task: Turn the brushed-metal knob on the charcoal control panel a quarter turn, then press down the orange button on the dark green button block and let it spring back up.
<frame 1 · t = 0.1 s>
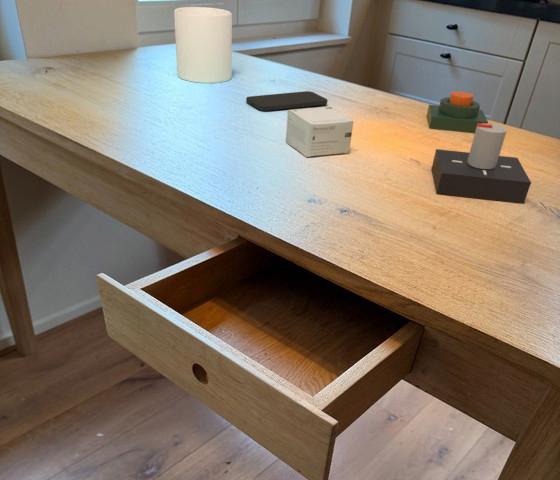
small box: (316, 149, 91), on the table
knob: (486, 145, 78), point 6 cm above the table, hinge at 0.0°
cup: (204, 77, 122), on the table
control panel: (475, 185, 82), on the table
button: (461, 99, 102), point 4 cm above the table, slide at 0.1 cm
phone: (286, 104, 109), on the table
button block: (454, 125, 105), on the table
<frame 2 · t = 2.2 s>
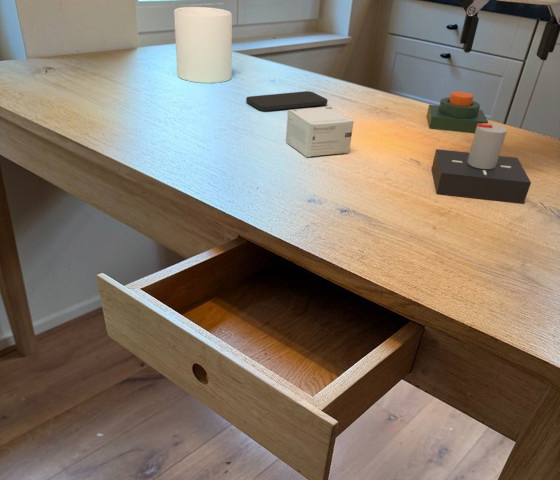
hand: (503, 54, 74), 16 cm above the table, tool pointing down, fingers open, 9 cm apart
nothing on the table moved.
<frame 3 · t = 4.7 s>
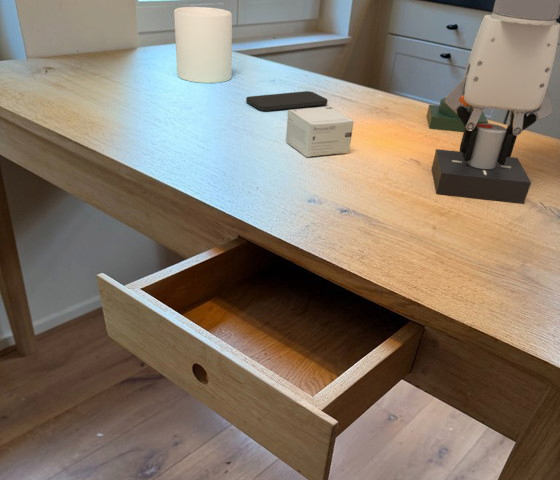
hand: (483, 158, 79), 4 cm above the table, tool pointing down, fingers closed on knob, 4 cm apart
knob: (486, 145, 78), point 6 cm above the table, hinge at -0.1°, touching gripper
everything else where it was.
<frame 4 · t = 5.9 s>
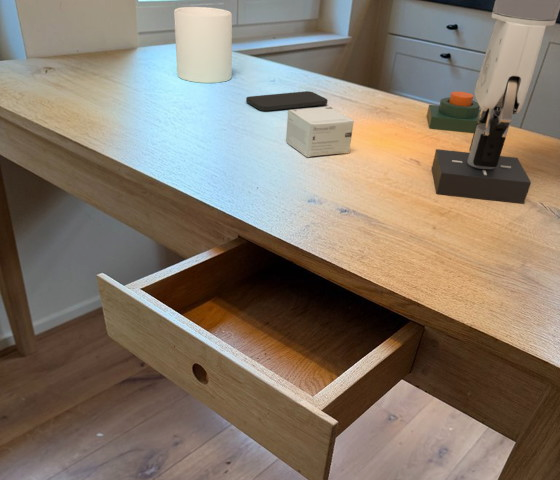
hand: (482, 158, 79), 4 cm above the table, tool pointing down, fingers closed on knob, 4 cm apart
knob: (486, 145, 78), point 6 cm above the table, hinge at 90.4°, touching gripper
everything else where it was.
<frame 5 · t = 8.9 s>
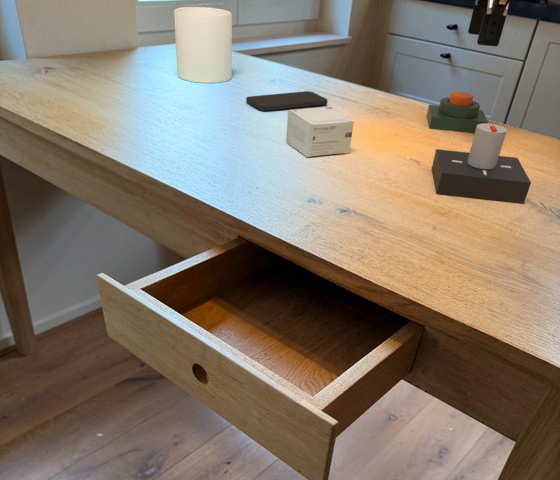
hand: (482, 39, 90), 15 cm above the table, tool pointing down, fingers open, 9 cm apart
knob: (486, 145, 78), point 6 cm above the table, hinge at 91.2°
everything else where it was.
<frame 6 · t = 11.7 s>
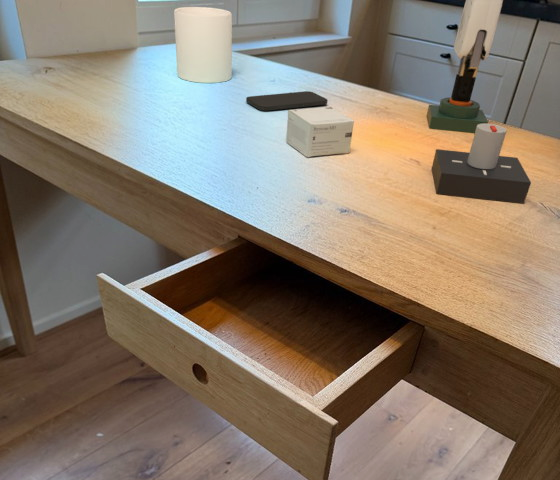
hand: (460, 99, 102), 4 cm above the table, tool pointing down, fingers closed
button: (459, 105, 103), point 3 cm above the table, slide at -0.9 cm, touching gripper
everything else where it was.
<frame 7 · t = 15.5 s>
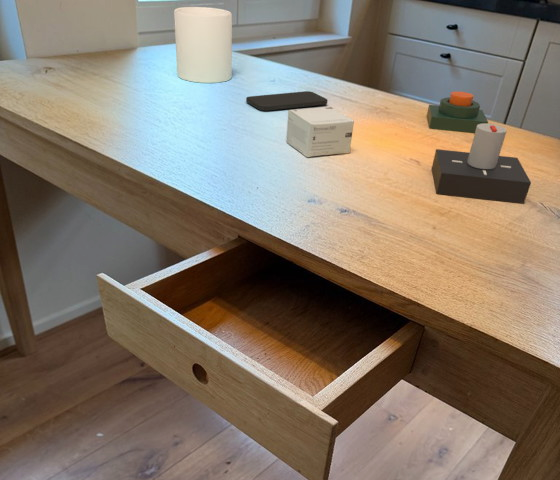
button: (461, 99, 102), point 4 cm above the table, slide at 0.1 cm
everything else where it was.
at the end: knob at +91° (first picture: +0°); button pushed in 1.1 cm at the most during the clip, back to where it started at the end; button slide at 0.1 cm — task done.
